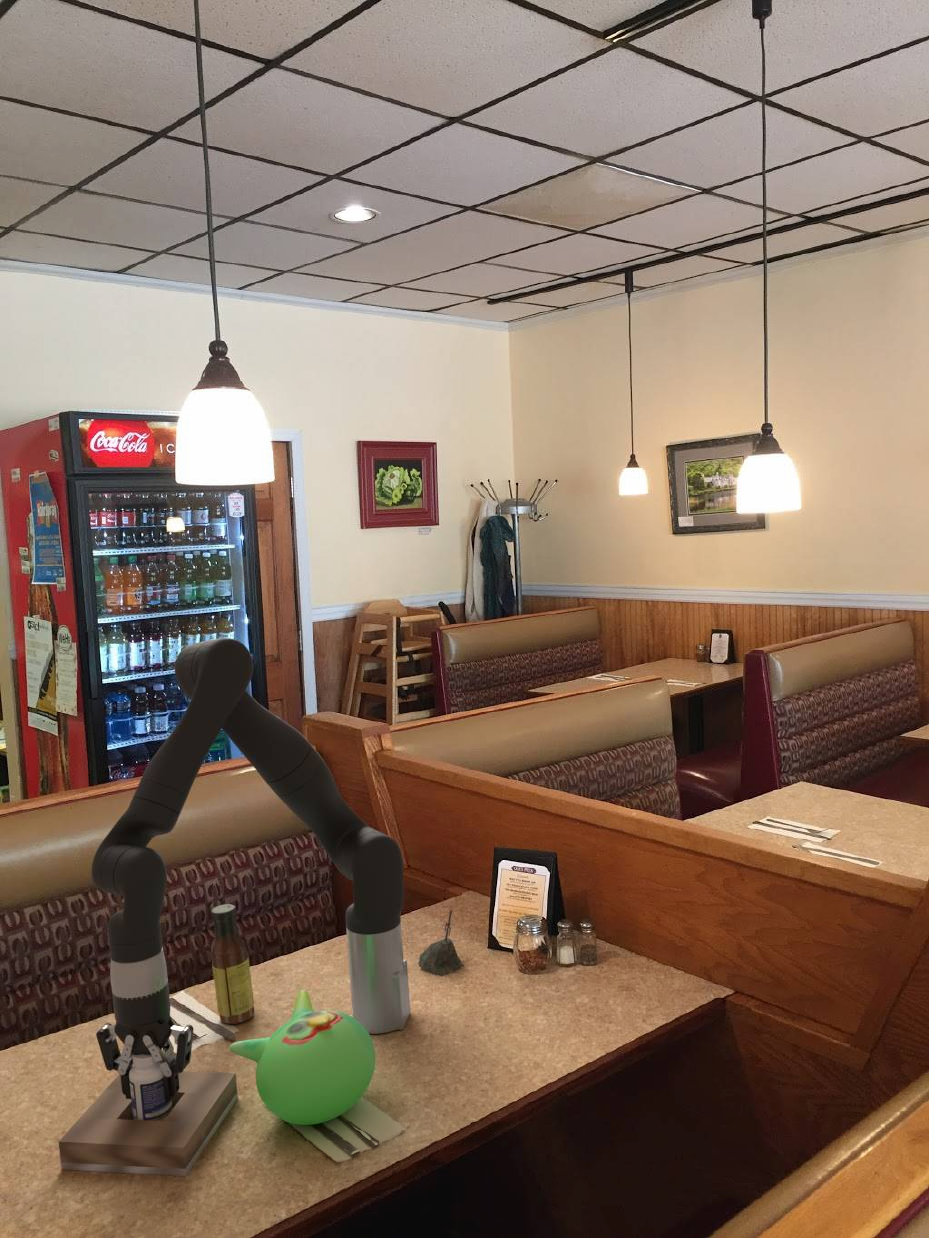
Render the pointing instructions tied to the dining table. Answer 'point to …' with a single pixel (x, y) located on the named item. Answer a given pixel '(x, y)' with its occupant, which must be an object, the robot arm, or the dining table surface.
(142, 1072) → the pill bottle
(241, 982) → the sauce bottle
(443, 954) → the sword in stone
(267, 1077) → the toy bird
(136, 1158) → the socket block
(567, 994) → the dining table surface
